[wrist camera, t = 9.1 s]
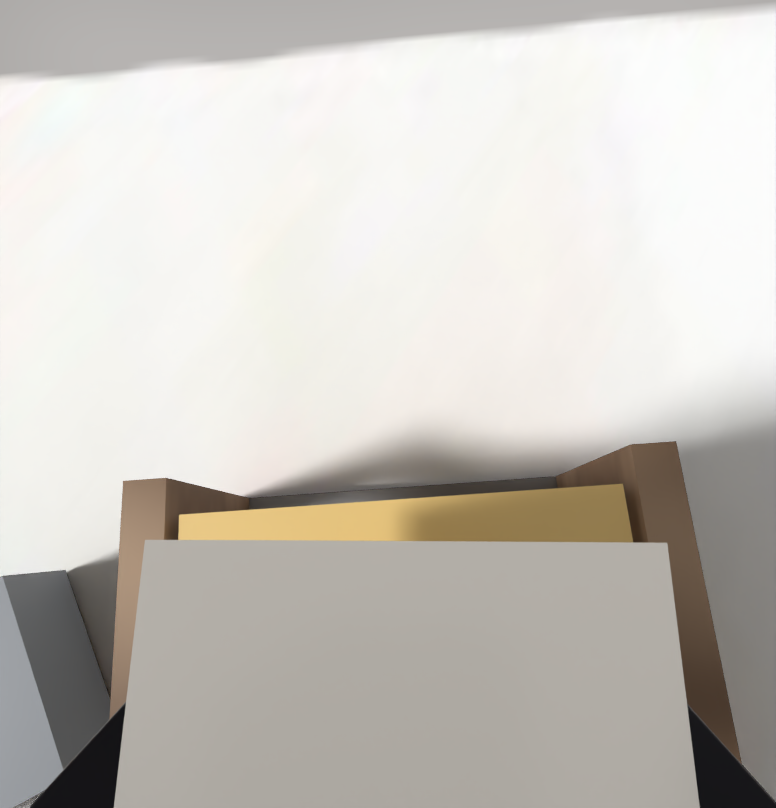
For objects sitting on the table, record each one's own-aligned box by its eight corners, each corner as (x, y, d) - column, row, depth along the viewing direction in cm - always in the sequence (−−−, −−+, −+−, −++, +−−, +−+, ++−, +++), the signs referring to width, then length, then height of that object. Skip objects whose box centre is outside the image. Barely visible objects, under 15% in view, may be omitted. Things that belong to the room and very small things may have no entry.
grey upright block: (533, 802, 10) (758, 1281, 4) (284, 795, 11) (64, 1236, 4) (520, 541, 12) (667, 542, 5) (296, 540, 12) (145, 540, 5)
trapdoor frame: (643, 874, 19) (815, 1125, 11) (221, 895, 19) (84, 1152, 11) (581, 475, 22) (676, 441, 14) (225, 501, 22) (123, 480, 15)
